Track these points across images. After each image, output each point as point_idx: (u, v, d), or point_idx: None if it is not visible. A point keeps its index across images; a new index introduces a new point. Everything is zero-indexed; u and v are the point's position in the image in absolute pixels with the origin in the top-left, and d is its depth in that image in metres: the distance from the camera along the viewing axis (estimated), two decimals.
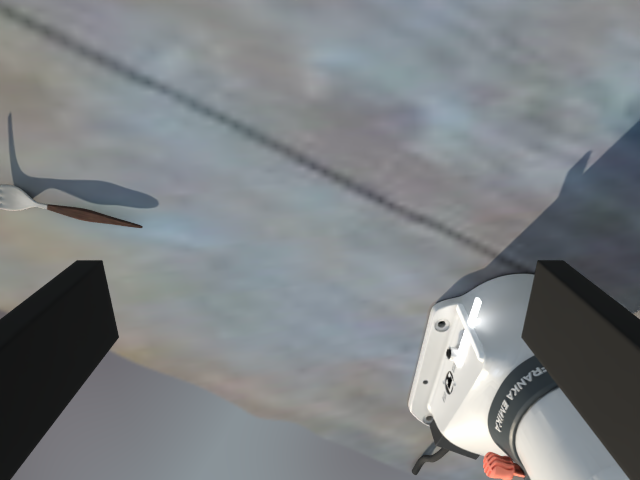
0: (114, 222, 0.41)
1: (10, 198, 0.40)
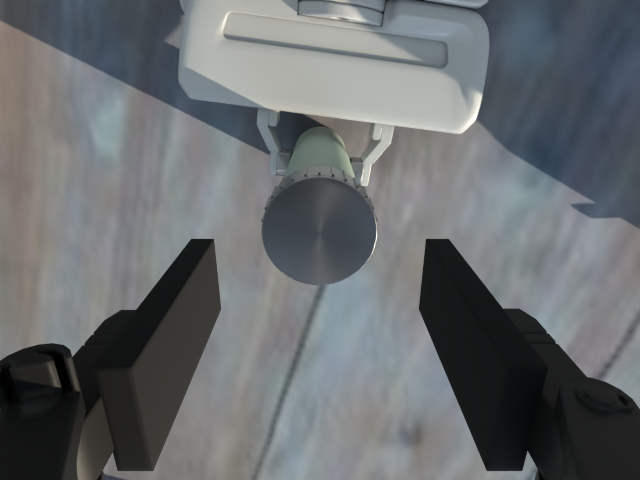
0: None
1: None
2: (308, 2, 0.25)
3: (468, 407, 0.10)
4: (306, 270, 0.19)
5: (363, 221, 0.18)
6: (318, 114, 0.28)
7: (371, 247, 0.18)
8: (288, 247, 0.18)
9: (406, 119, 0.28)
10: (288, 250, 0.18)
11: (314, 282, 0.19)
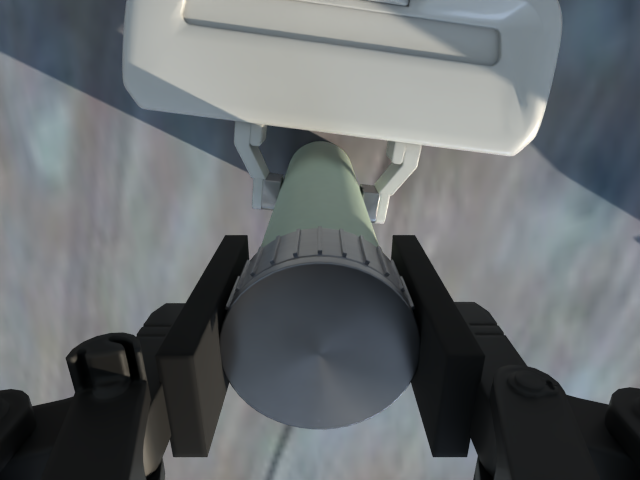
0: None
1: None
2: None
3: (420, 396, 0.10)
4: (297, 408, 0.11)
5: (397, 334, 0.10)
6: (318, 130, 0.20)
7: (409, 374, 0.11)
8: (266, 374, 0.11)
9: (439, 137, 0.20)
10: (266, 378, 0.11)
11: (310, 425, 0.11)
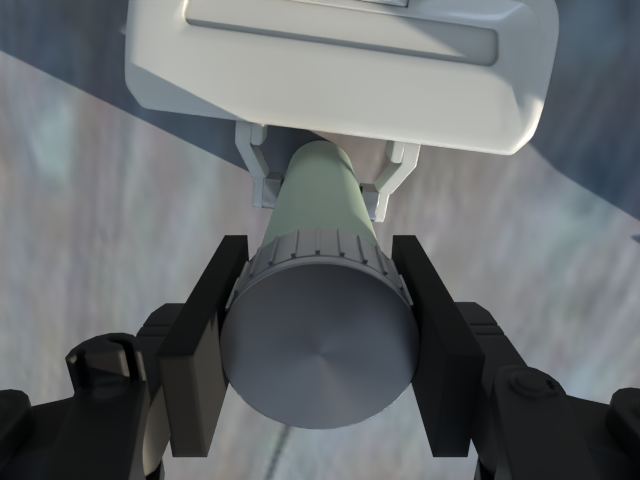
0: None
1: None
2: None
3: (420, 396, 0.10)
4: (384, 380, 0.11)
5: (307, 284, 0.10)
6: (318, 129, 0.20)
7: (362, 275, 0.09)
8: (335, 399, 0.11)
9: (438, 136, 0.20)
10: (341, 400, 0.11)
11: (410, 373, 0.11)
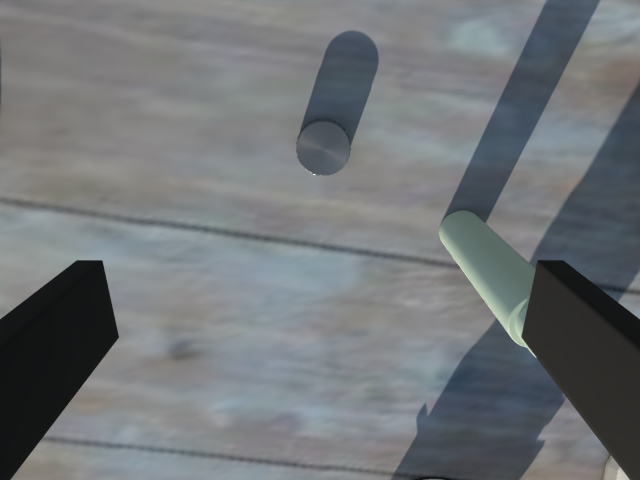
0: None
1: None
2: None
3: None
4: (340, 158, 0.39)
5: (320, 127, 0.38)
6: None
7: (333, 125, 0.38)
8: (327, 164, 0.39)
9: None
10: (329, 165, 0.39)
11: (347, 155, 0.39)
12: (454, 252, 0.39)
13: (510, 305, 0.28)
